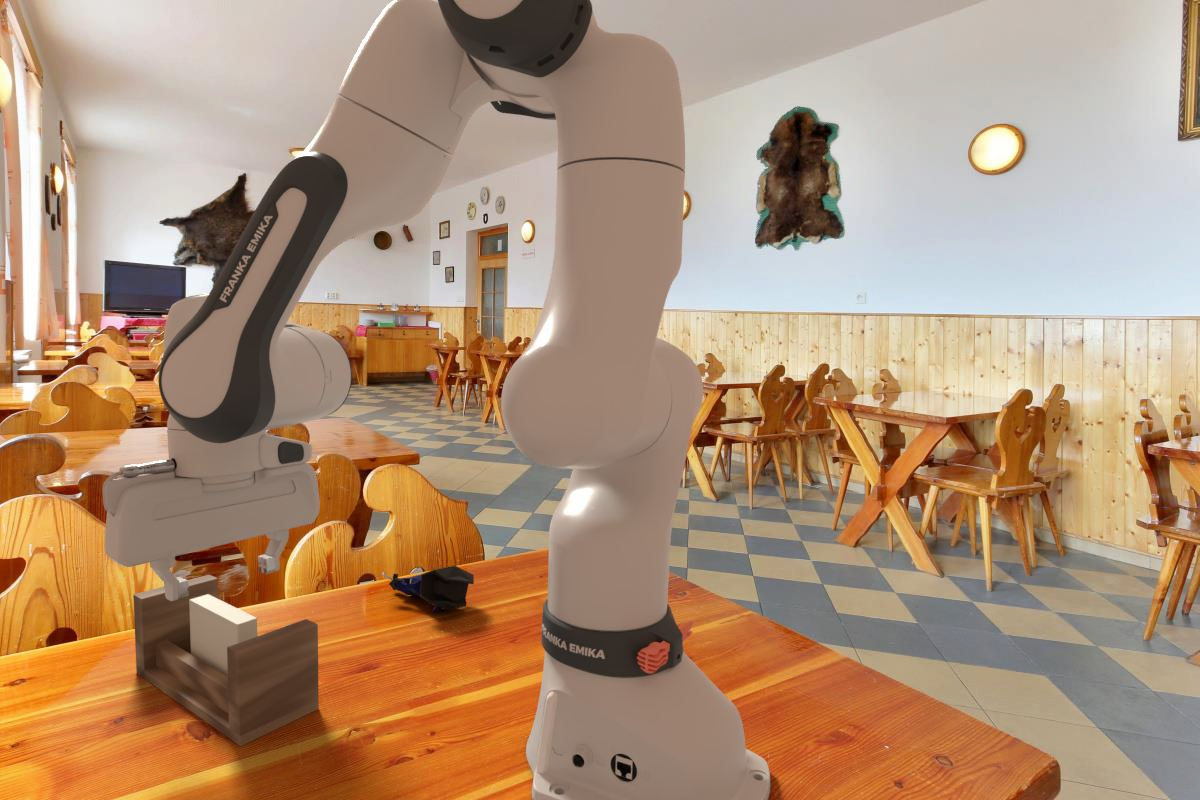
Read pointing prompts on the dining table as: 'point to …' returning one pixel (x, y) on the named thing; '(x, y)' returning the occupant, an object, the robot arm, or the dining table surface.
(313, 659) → the wooden rack
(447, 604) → the toy
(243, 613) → the door panel
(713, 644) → the dining table surface
